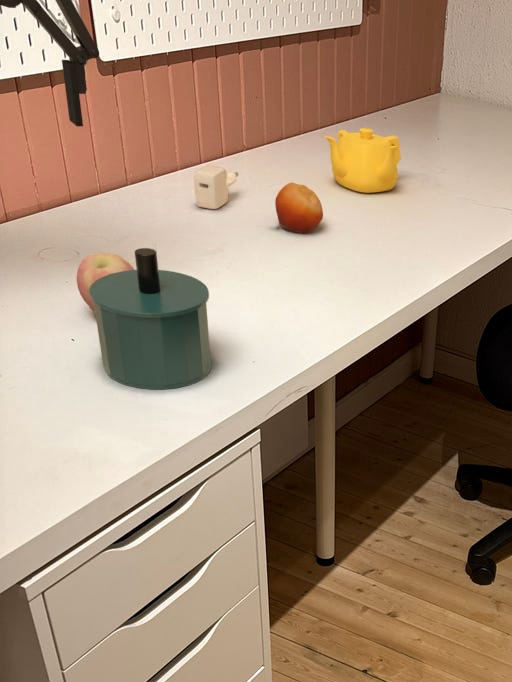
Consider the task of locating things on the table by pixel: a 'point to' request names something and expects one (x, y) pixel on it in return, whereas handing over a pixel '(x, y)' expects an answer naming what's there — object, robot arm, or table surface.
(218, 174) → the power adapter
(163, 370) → the pot
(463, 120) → the table surface
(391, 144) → the teapot
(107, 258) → the apple
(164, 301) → the pot lid
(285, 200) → the fruit
